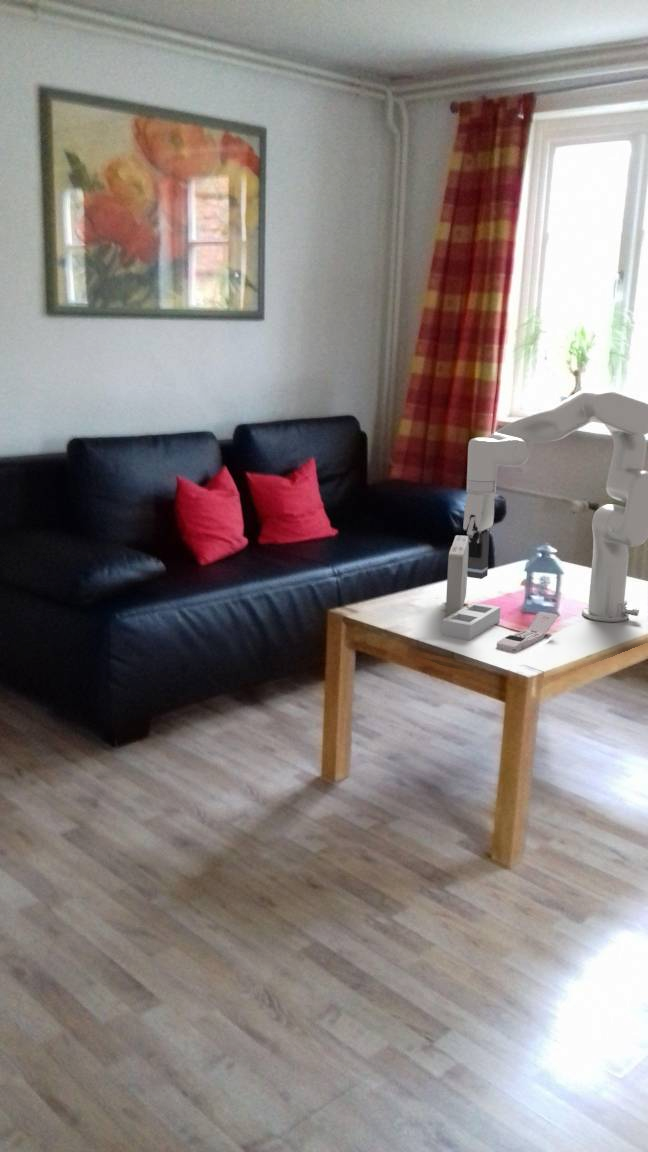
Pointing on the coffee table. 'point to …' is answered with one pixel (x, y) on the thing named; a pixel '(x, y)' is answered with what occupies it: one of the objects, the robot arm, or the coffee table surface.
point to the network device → (457, 575)
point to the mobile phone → (528, 633)
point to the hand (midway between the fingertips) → (478, 554)
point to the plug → (479, 565)
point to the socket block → (470, 621)
